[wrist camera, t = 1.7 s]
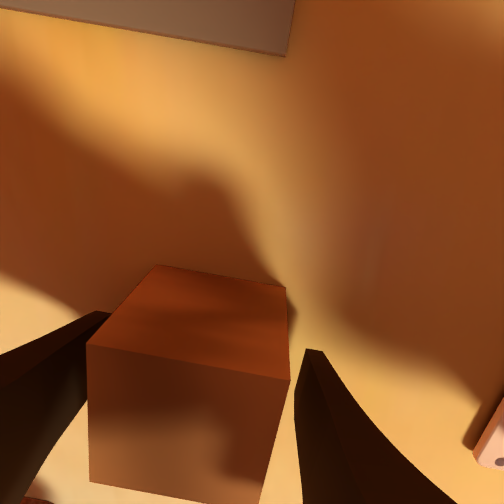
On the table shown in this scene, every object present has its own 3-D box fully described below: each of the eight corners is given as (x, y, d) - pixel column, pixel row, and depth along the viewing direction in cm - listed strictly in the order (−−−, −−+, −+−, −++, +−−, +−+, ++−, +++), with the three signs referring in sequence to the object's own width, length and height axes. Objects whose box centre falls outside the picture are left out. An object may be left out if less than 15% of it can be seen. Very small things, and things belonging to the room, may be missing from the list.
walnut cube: (285, 286, 12) (290, 380, 8) (262, 387, 14) (256, 512, 10) (157, 263, 12) (85, 342, 8) (150, 366, 14) (89, 481, 10)
